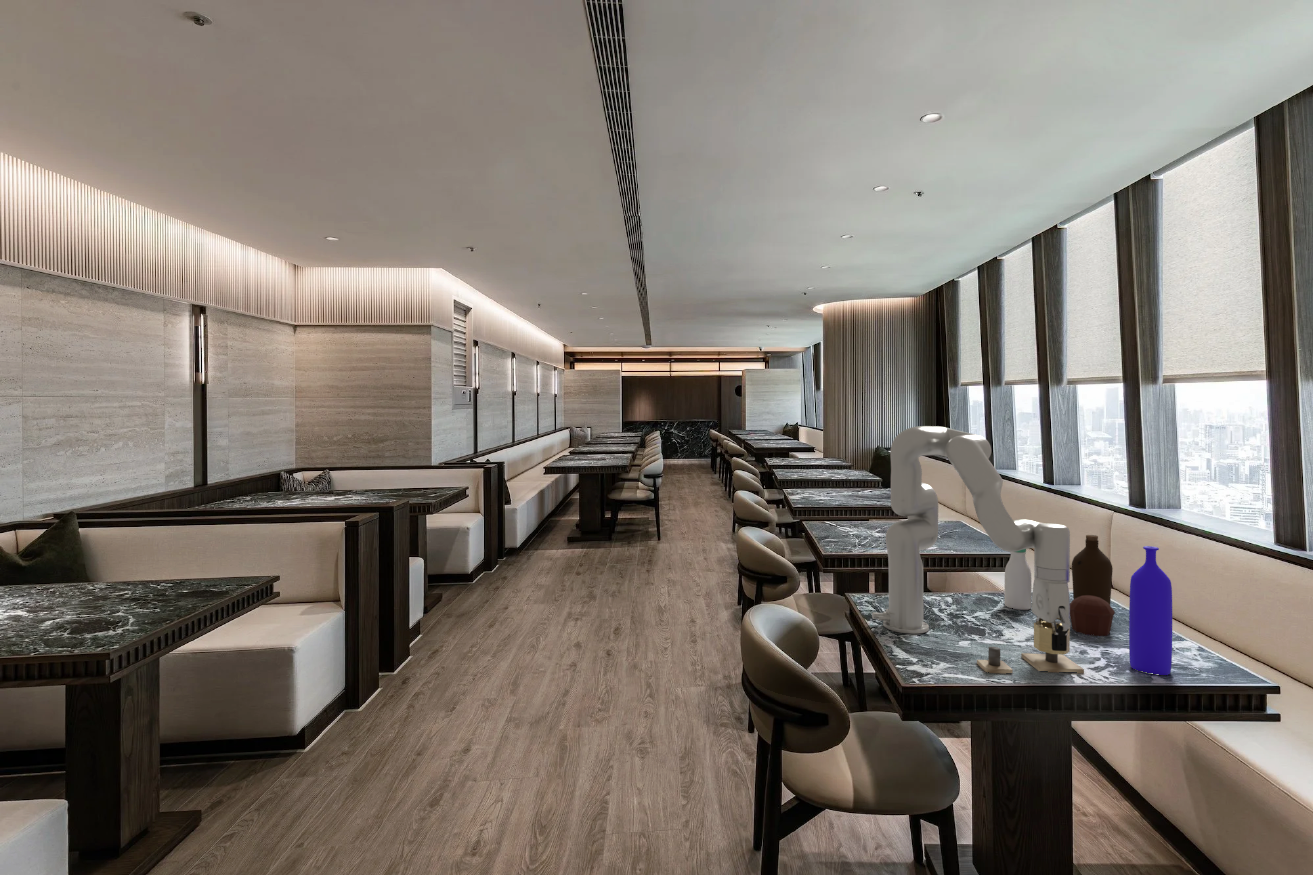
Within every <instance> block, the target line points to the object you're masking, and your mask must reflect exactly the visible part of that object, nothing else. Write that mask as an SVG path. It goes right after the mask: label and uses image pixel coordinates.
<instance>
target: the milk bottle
mask: <svg viewBox="0 0 1313 875" xmlns="http://www.w3.org/2000/svg"><path fill="white" fill-rule="evenodd" d="M1009 553H1010V556H1009V560H1008V561H1007V563H1006V566H1005V570H1004V606H1005V607H1006V606H1007V607H1006V608H1009V609H1012V608H1013V609H1014V610H1018V611H1019V610H1021V611H1028V610H1032V592H1033V585H1032V570H1031V567H1030V565H1029V563H1028V561H1027V558H1026V555H1027V549H1022V550H1019V551H1015V552H1009ZM1013 609H1012V610H1013Z"/></svg>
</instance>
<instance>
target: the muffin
mask: <svg viewBox="0 0 1313 875" xmlns="http://www.w3.org/2000/svg"><path fill="white" fill-rule="evenodd" d="M1115 614H1116V612H1115V610H1114V609H1113V607H1112V606H1111V604H1110V605H1109V604H1108V603H1107V602H1106V601H1105V600H1103V599H1101V598H1099V597H1096V596H1091V595H1085V596H1080V597H1077V598H1075V599H1074V600H1073V599H1072V600H1071V602H1070V623H1071V627H1072V628H1071V629H1072V630H1074V631H1075V632H1076V633H1079V634H1084V635H1086V636H1095V637H1107V636H1108V635H1110V633H1111V629H1112V626H1113V620H1114V615H1115Z"/></svg>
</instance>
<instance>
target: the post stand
mask: <svg viewBox="0 0 1313 875" xmlns="http://www.w3.org/2000/svg"><path fill="white" fill-rule="evenodd" d="M1020 656H1021V659H1023V660H1025V661H1026V662H1027V663H1028V664H1029V665H1031V666H1032V667H1033V668H1034V669H1035V670H1037V671H1038V672H1039V671H1048V672H1047V673H1059V672H1077V673H1076V674H1085V668H1083V667H1081V666H1080V665H1079V664H1078V663H1075V662H1074V661H1073V660H1071V659H1070V658H1068V657H1067V656H1066V655H1065V654H1050V653H1046V652H1045V653H1026V652H1021V655H1020Z"/></svg>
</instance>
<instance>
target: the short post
mask: <svg viewBox="0 0 1313 875" xmlns="http://www.w3.org/2000/svg"><path fill="white" fill-rule="evenodd" d="M987 650H988V659H976V664H977V665H978V666H979V667H980V668H981V669H982V670H983V671H984V672H985V673H986V672H987V674H1006V673H1013V670H1014V669H1013V668H1011V667H1010V666H1009V665H1008V664H1007V663H1006V662H1005V661H1003V660H1001V648H1000V647H997V646H988V649H987ZM988 672H989V673H988Z"/></svg>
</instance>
